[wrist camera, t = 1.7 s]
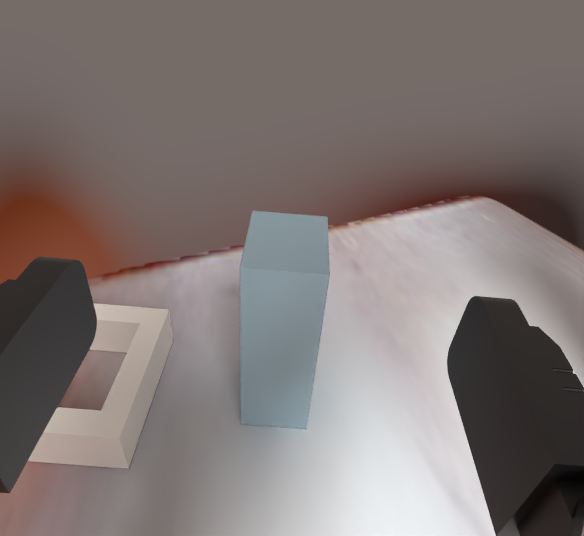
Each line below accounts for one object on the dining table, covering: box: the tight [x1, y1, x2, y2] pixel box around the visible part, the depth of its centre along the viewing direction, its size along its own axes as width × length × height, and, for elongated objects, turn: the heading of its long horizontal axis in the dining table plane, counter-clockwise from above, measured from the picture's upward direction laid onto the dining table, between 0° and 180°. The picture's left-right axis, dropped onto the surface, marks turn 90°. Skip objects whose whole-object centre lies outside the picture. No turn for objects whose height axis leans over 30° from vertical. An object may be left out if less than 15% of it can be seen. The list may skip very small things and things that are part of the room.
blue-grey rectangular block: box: [240, 211, 330, 429], centre depth 25 cm, size 4×5×12 cm
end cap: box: [28, 303, 173, 469], centre depth 27 cm, size 9×10×3 cm
